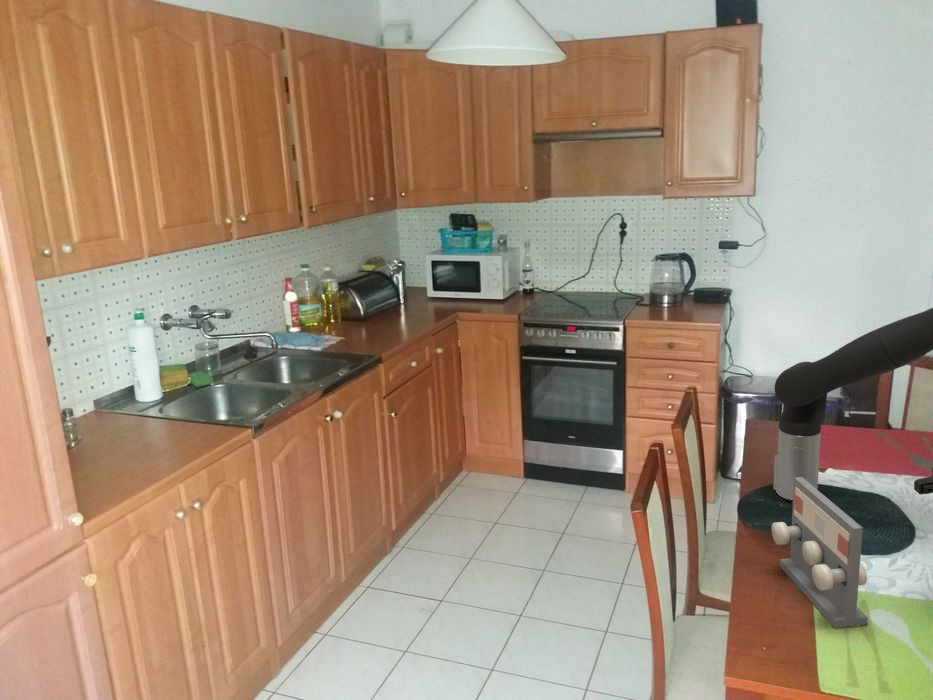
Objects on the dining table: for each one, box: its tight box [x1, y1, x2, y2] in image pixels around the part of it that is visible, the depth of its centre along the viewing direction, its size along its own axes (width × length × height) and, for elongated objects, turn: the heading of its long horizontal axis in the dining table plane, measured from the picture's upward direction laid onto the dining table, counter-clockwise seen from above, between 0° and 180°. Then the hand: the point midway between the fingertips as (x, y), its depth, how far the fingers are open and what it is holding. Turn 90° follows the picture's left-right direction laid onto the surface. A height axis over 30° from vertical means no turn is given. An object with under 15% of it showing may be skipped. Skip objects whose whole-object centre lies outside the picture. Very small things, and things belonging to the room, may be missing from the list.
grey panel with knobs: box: [778, 477, 868, 629], centre depth 143 cm, size 6×21×20 cm, turn 4°
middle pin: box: [802, 541, 823, 565], centre depth 144 cm, size 8×4×4 cm, turn 94°
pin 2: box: [812, 562, 868, 590], centre depth 136 cm, size 8×4×4 cm, turn 94°
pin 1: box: [771, 521, 802, 546], centre depth 151 cm, size 8×4×4 cm, turn 94°
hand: (916, 487), depth 135 cm, fingers closed
